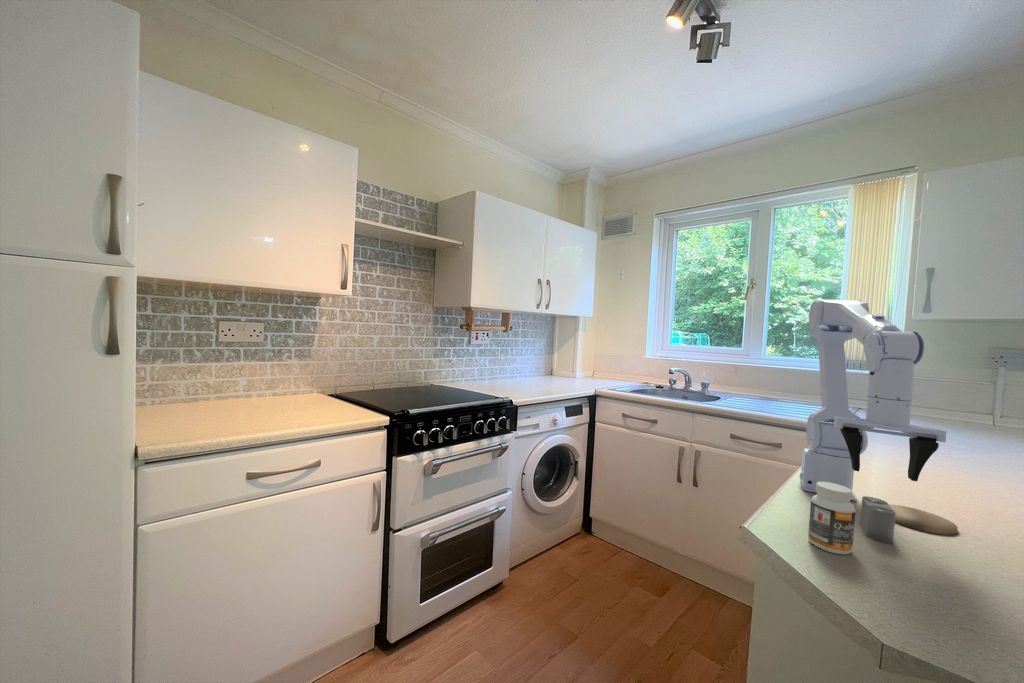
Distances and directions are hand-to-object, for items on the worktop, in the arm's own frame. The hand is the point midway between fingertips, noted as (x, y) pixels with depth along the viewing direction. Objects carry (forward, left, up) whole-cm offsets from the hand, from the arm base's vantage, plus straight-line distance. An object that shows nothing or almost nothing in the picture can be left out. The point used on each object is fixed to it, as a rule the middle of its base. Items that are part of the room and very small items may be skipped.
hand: (883, 474), depth 72 cm
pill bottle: (-8, -12, -11) cm, 18 cm away
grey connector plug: (0, +1, -11) cm, 11 cm away
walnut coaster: (+8, +12, -11) cm, 18 cm away
